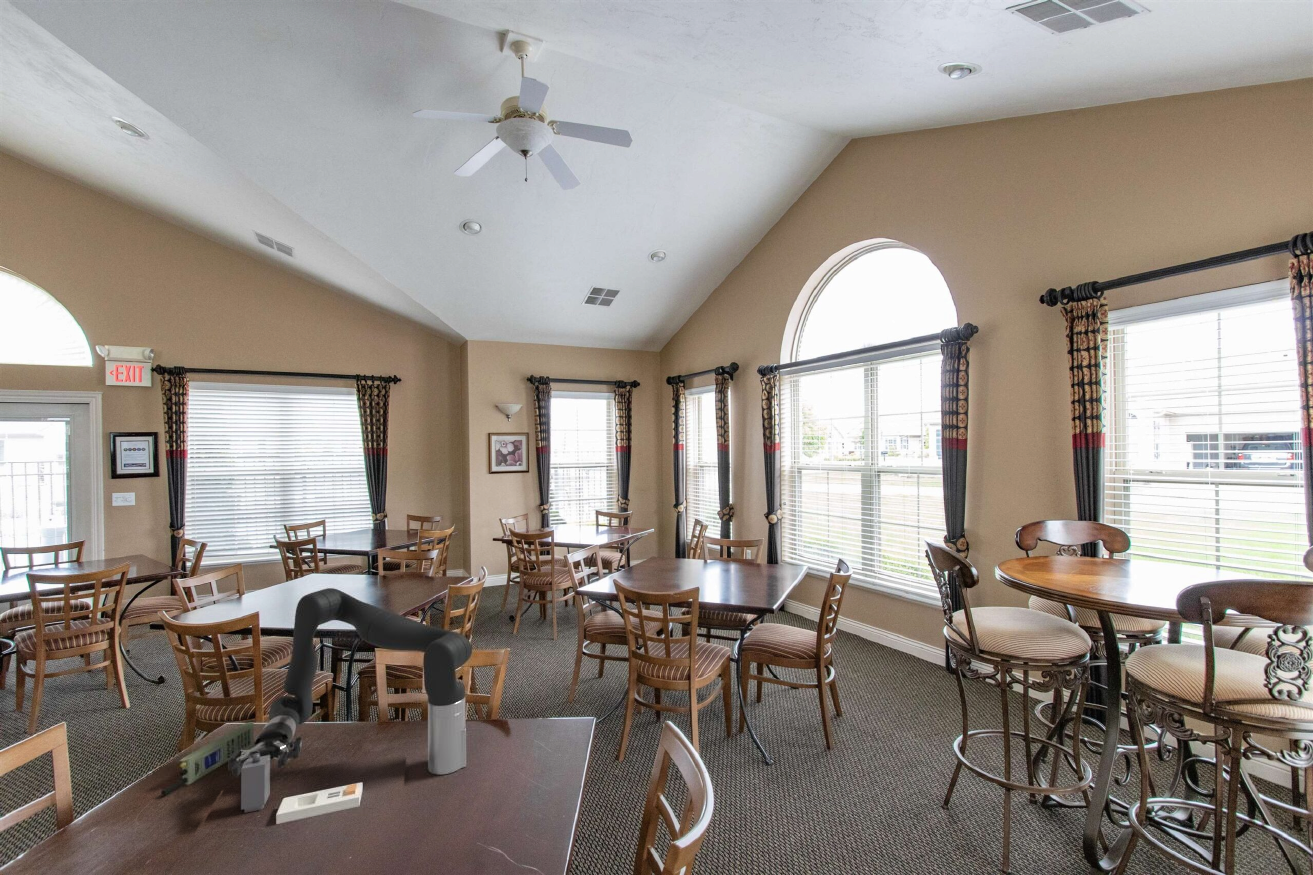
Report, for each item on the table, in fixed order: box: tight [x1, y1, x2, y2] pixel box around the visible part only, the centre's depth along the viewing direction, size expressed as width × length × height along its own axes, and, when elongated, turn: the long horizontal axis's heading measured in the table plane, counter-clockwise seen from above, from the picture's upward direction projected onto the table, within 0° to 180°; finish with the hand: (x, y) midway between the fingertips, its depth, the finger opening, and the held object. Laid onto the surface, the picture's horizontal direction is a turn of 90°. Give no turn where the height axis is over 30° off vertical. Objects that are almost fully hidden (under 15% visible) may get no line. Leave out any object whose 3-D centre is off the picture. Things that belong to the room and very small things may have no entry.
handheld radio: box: [160, 721, 255, 797], centre depth 147 cm, size 7×3×25 cm
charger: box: [240, 753, 271, 814], centre depth 128 cm, size 4×4×12 cm
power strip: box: [275, 782, 363, 825], centre depth 129 cm, size 22×6×4 cm, turn 112°
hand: (258, 768), depth 130 cm, fingers open, 8 cm apart
